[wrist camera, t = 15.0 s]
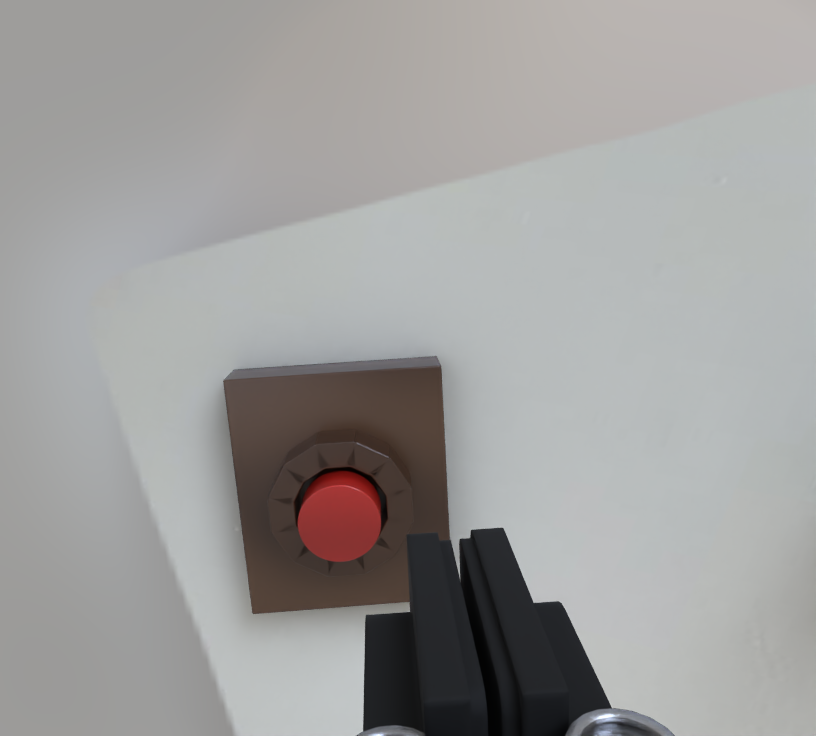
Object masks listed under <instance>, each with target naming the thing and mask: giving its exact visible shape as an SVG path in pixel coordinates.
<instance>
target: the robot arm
mask: <svg viewBox="0 0 816 736" xmlns="http://www.w3.org/2000/svg"><path fill="white" fill-rule="evenodd" d="M406 537H407V558H408V578H409V597H410V612H404V613H390V614H376V615H366V620H365V669H364V720H363V732H361V733H360V734H358V735H356V736H675V735H674V734H673V733H672V732H671V731H670V730H669V729H668V728H666V727H665V726H663V725H662V724H660V723H658V722H657V721H655V720H654V719H652V718H650V717H648V716H645V715H642V714H639V713H637V712H634V711H629V710H623V709H616V708H612V707H611V705H610V703H609V701H608V699H607V697H606V695H605V693H604V691H603V688H602V686H601V684H600V682H599V680H598V678H597V676H596V674H595V672H594V669H593V667H592V665H591V663H590V661H589V659H588V657H587V655H586V653H585V650H584V648H583V646H582V644H581V642H580V640H579V638H578V636H577V634H576V631H575V629H574V627H573V625H572V623H571V621H570V619H569V617H568V615H567V612H566V610H565V608H564V607H563V605H562V603H560V602H558V601H557V602H543V603H533V600H532V598H531V595H530V593H529V590H528V588H527V586H526V583H525V581H524V578H523V576H522V573H521V571H520V568H519V566H518V563H517V561H516V558H515V556H514V553H513V551H512V548H511V546H510V543H509V541H508V538H507V536H506V533H505V531H504V529H503V528H492V529H477V530H471V535H470V538H469V539H460V543H459V550H460V578H459V574H458V570H457V565H456V561H455V557H454V552H453V548H452V544H451V540H440V541H439V536H438V532H433V533H418V534H406ZM460 582H461V583H460Z"/></svg>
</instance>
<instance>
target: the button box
mask: <svg viewBox="0 0 816 736" xmlns="http://www.w3.org/2000/svg"><path fill="white" fill-rule="evenodd" d="M223 382H224V390H225V398H226V406H227V414H228V422H229V430H230V438H231V446H232V454H233V462H234V470H235V478H236V486H237V494H238V502H239V510H240V518H241V526H242V534H243V542H244V550H245V558H246V566H247V574H248V582H249V590H250V598H251V606H252V613H253V614H259V613H272V612H285V611H297V610H310V609H323V608H336V607H349V606H362V605H374V604H387V603H400V602H410V597H409V578H408V558H407V537H406V534H418V533H433V532H438V536H439V541H440V540H450V534H449V513H448V493H447V473H446V452H445V432H444V411H443V391H442V370H441V365H440V363H439V360H438V358H437V357H436V356H432V357H418V358H403V359H388V360H373V361H358V362H343V363H328V364H313V365H298V366H283V367H268V368H253V369H238V370H233V371H232V372H231V373H230V374H229V375H228V376H227V377H226V378H225V379H224V381H223ZM333 471H350V472H354V473H357V474H359V475H361V476H363V477H364V478H366V479H367V480H368V481H369V482H371V483H372V485H373V486H374V487H375V489H376V490H377V492H378V495H379V497H380V502H381V530H380V534H379V537H378V539H377V541H376V543H375V544H374V545H373V547H372V548H371V549H370V550H369V551H368V552H367V553H365V554H364V555H362V556H360V557H359V558H356V559H354V560H350V561H345V562H334V561H329V560H325V559H322V558H320V557H318V556H316V555H315V554H313V553H312V552H311V551H310V550H309V549H308V548H307V547H306V546H305V544H304V543H303V541H302V539H301V537H300V535H299V531H298V516H299V512H300V508H301V504H302V501H303V497H304V494H305V492H306V490H307V488H308V487H309V486H310V484H311V483H312V482H313V481H314V480H316V479H317V478H318V477H320V476H322V475H324V474H326V473H329V472H333Z"/></svg>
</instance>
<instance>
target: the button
mask: <svg viewBox="0 0 816 736" xmlns="http://www.w3.org/2000/svg"><path fill="white" fill-rule="evenodd" d="M380 530H381V502H380V497H379V495H378V492H377V490H376V489H375V487H374V486H373V485H372V483H371V482H369V481H368V480H367V479H366V478H364V477H363V476H361V475H359V474H357V473H354V472H350V471H333V472H329V473H326V474H324V475H322V476H320V477H318V478H317V479H316V480H314V481H313V482H312V483H311V484H310V486H309V487H308V488H307V490H306V492H305V494H304V497H303V501H302V504H301V508H300V512H299V516H298V531H299V535H300V537H301V539H302V541H303V543H304V544H305V546H306V547H307V548H308V549H309V550H310V551H311V552H312V553H313V554H315V555H316V556H318V557H320V558H322V559H325V560H329V561H334V562H345V561H350V560H354V559H356V558H359V557H360V556H362V555H364V554H365V553H367V552H368V551H369V550H370V549H371V548H372V547H373V545H374V544H375V543H376V541H377V539H378V537H379V534H380Z"/></svg>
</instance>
